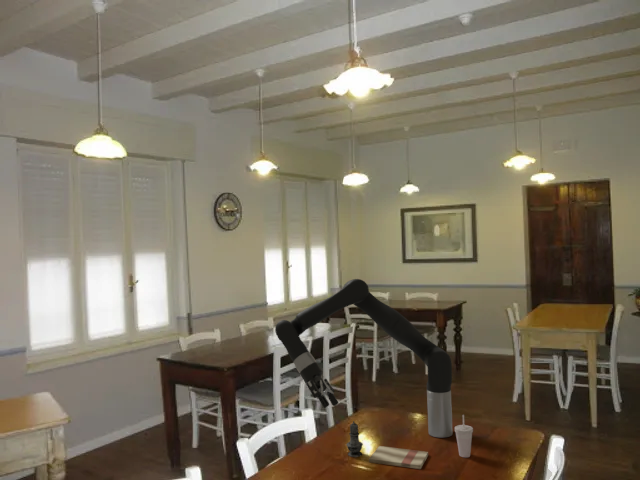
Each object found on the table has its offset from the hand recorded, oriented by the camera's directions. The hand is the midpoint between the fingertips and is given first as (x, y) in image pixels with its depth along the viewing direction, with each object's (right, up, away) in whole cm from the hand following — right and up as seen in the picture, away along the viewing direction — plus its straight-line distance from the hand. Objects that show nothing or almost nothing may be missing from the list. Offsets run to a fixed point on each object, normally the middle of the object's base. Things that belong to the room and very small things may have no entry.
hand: (331, 405), depth 193 cm
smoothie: (+47, -17, -2) cm, 50 cm away
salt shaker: (+8, -18, +2) cm, 20 cm away
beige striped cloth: (+23, -18, -3) cm, 30 cm away
